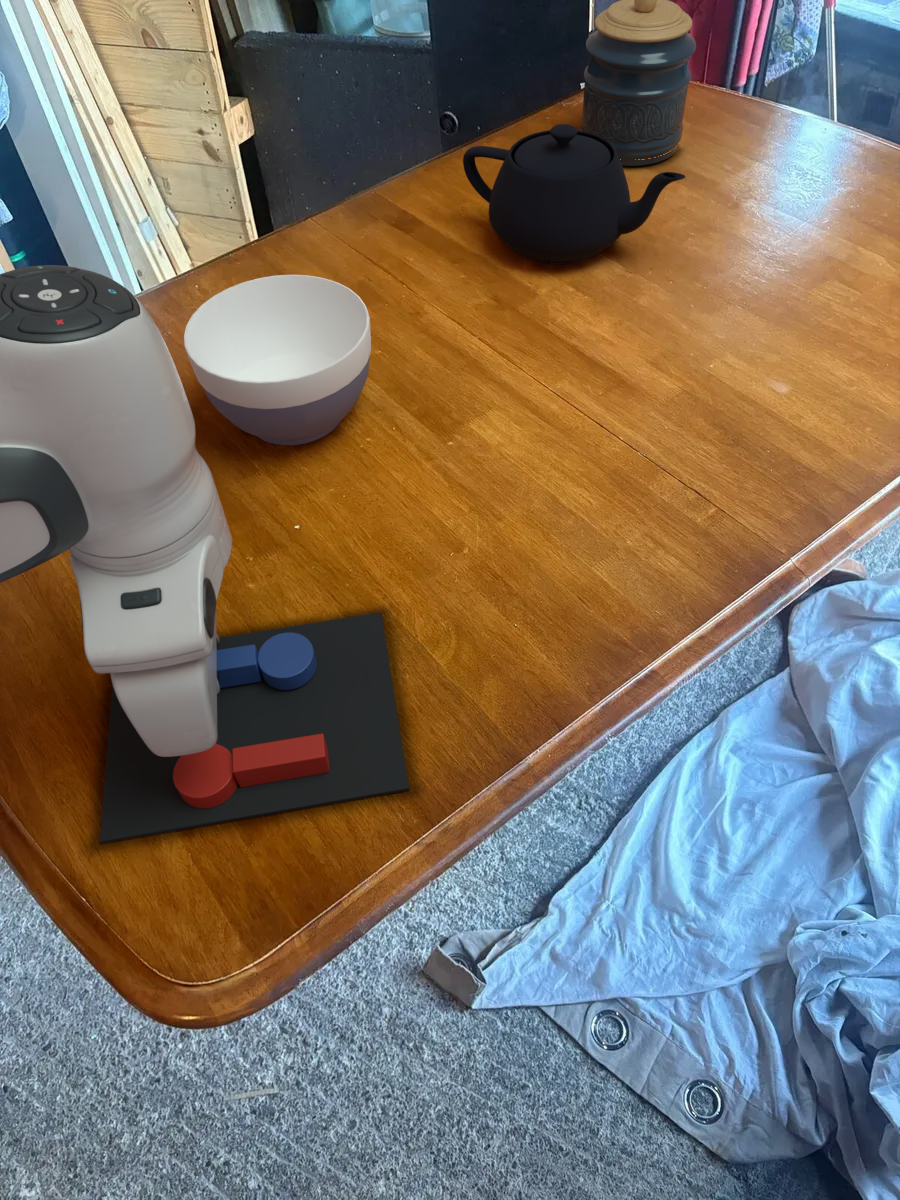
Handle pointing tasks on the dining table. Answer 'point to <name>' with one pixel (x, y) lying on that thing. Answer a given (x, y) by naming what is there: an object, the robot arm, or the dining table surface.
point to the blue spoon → (269, 663)
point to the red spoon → (247, 768)
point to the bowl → (282, 355)
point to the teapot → (561, 195)
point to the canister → (638, 79)
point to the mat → (273, 737)
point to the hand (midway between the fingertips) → (208, 669)
